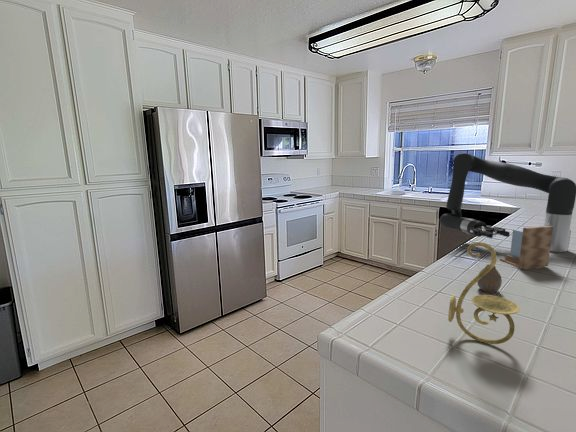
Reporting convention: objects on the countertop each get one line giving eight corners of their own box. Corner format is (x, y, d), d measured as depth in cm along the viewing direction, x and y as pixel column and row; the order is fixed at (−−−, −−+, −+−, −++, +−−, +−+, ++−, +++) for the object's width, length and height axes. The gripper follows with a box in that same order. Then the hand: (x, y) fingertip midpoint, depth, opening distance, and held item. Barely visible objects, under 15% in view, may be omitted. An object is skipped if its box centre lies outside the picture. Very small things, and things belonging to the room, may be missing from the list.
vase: (497, 287, 109) (499, 263, 108) (503, 296, 103) (506, 270, 101) (474, 285, 112) (476, 261, 110) (478, 293, 105) (481, 268, 103)
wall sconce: (445, 341, 79) (453, 243, 74) (451, 324, 86) (459, 235, 82) (514, 361, 71) (528, 253, 66) (514, 341, 78) (526, 242, 74)
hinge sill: (520, 258, 138) (525, 220, 135) (547, 267, 127) (553, 226, 124) (496, 260, 136) (500, 222, 133) (521, 270, 125) (526, 228, 122)
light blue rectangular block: (515, 259, 136) (519, 229, 133) (530, 264, 129) (534, 233, 126) (509, 259, 135) (513, 229, 133) (524, 265, 128) (528, 233, 126)
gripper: (460, 220, 155) (487, 227, 139) (486, 218, 157) (515, 225, 141) (459, 235, 156) (485, 244, 140) (485, 233, 159) (513, 242, 143)
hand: (500, 235), depth 141 cm, fingers open, 8 cm apart
